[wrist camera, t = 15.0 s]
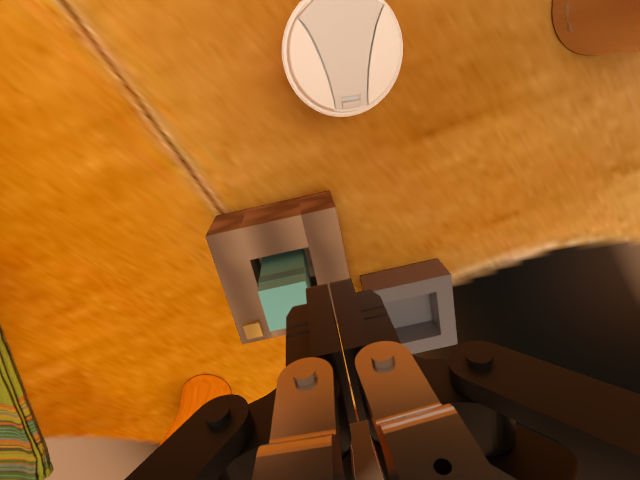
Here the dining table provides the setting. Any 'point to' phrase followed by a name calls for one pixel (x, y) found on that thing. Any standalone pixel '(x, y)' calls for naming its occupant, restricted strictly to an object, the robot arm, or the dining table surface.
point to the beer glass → (197, 398)
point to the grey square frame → (417, 303)
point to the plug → (283, 285)
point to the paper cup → (342, 54)
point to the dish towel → (18, 427)
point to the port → (274, 252)
